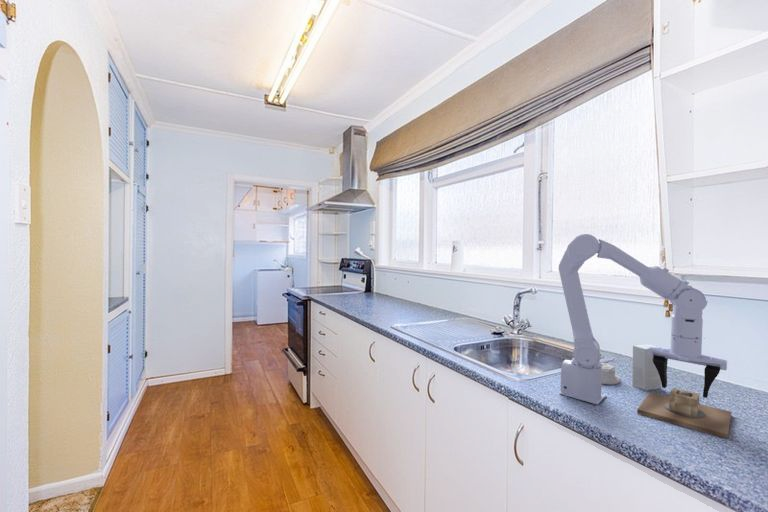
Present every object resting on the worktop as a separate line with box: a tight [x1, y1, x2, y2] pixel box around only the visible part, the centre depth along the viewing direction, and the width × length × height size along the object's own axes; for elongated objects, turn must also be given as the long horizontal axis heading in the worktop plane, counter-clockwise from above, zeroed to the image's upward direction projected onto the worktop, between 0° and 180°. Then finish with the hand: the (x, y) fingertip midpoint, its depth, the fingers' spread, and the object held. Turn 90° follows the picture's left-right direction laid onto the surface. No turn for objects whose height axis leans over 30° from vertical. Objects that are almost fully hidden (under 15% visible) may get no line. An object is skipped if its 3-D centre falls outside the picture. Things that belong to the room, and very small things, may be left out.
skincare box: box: [632, 343, 663, 392], centre depth 104 cm, size 6×4×12 cm
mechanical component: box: [600, 362, 621, 385], centre depth 110 cm, size 10×4×10 cm
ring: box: [669, 387, 700, 417], centre depth 87 cm, size 5×5×4 cm
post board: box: [637, 390, 732, 440], centre depth 87 cm, size 16×15×6 cm
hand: (684, 391), depth 87 cm, fingers open, 7 cm apart
